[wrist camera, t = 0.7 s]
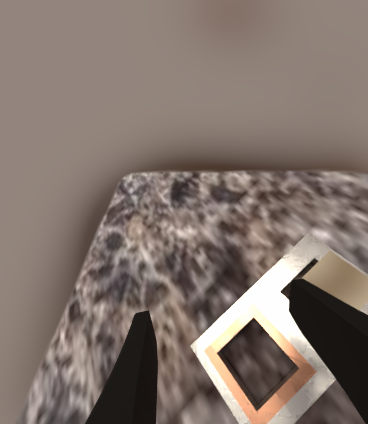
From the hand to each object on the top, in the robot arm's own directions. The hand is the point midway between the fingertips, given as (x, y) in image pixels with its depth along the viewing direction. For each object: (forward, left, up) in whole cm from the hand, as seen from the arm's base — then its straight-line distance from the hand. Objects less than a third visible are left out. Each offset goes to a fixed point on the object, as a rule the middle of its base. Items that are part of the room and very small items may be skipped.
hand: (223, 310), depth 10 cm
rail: (-3, -3, -17) cm, 17 cm away
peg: (-3, -7, -17) cm, 19 cm away
